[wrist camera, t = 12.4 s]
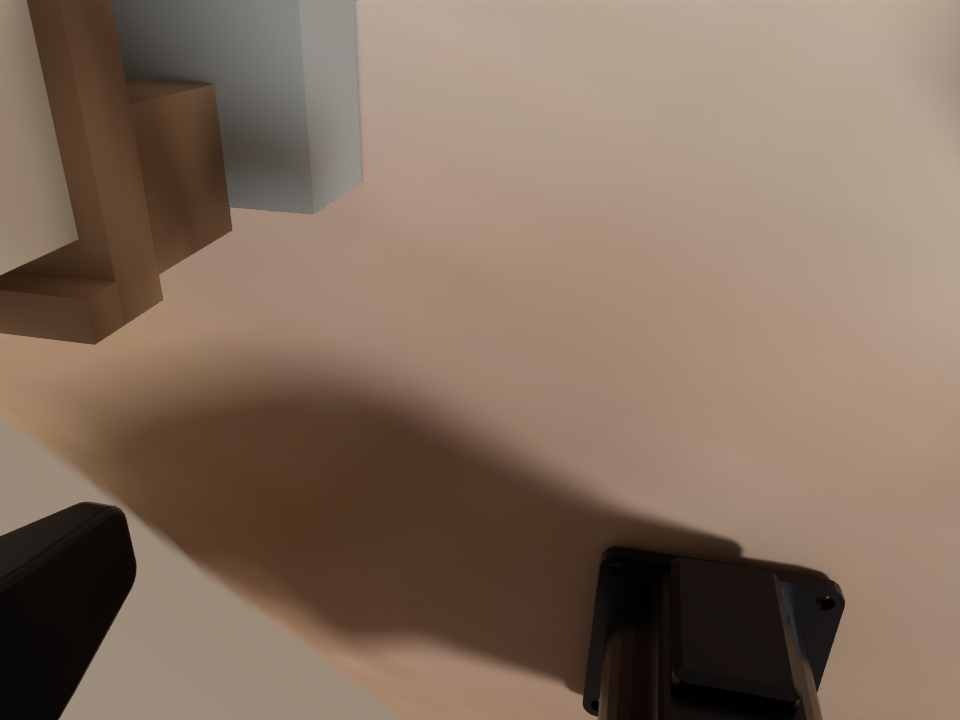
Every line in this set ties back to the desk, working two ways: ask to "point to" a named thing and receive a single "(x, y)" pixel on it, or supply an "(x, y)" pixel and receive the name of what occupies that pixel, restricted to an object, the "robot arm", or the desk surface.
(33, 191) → the block
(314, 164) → the dock
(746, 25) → the desk surface
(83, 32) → the pallet
